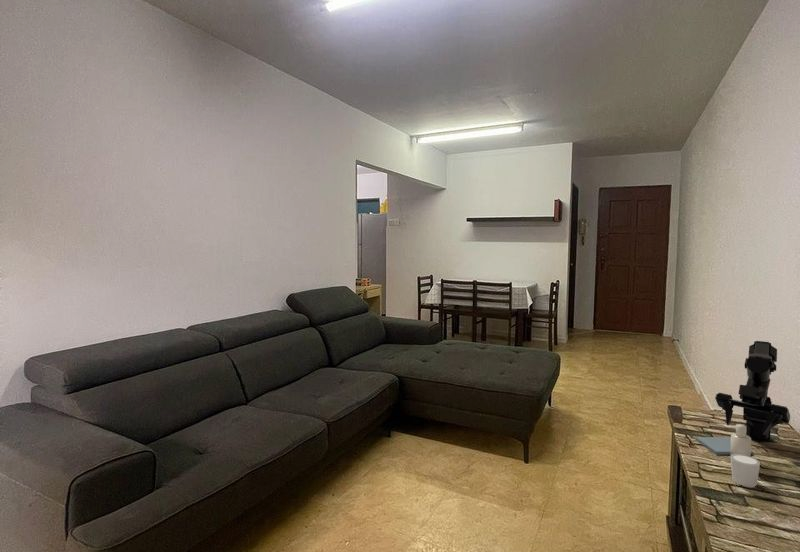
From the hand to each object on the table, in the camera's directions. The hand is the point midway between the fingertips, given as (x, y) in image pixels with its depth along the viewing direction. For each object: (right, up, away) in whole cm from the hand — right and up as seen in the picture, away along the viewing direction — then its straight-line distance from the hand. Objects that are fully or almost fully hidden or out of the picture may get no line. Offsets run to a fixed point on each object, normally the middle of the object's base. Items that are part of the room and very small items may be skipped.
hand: (744, 429), depth 139 cm
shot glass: (-10, -12, -12) cm, 19 cm away
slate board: (+1, -10, +10) cm, 14 cm away
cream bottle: (-3, -11, -1) cm, 11 cm away
